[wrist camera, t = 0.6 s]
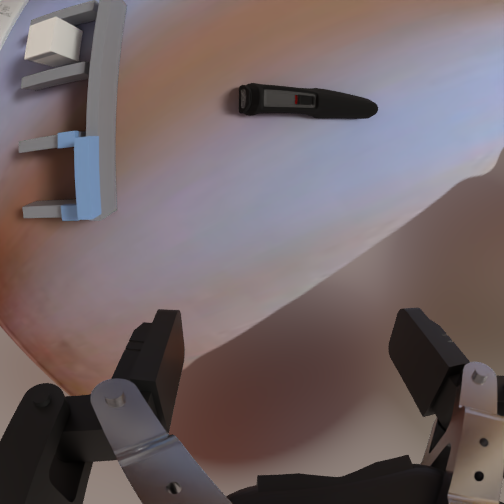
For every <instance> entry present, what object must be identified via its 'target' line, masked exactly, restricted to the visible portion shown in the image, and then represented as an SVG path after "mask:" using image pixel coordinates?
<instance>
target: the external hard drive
mask: <svg viewBox="0 0 504 504" xmlns="http://www.w3.org/2000/svg"><path fill="white" fill-rule="evenodd" d="M28 1H29V0H0V50H1V48H2V46H3V44H4V42H5V41H6V39H7V37H8V35H9V33H10V31H11V29H12V28H13V26H14V24H15V22H16V21H17V19H18V17H19V16H20V14H21V12H22V11H23V9H24V7H25V6H26V4H27V3H28Z"/></svg>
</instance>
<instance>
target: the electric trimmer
mask: <svg viewBox="0 0 504 504" xmlns="http://www.w3.org/2000/svg"><path fill="white" fill-rule="evenodd" d="M312 106H313V107H312ZM377 111H378V107H377V104H375V103H374V102H372V101H371V100H369V99H366V98H362V97H358V96H354V95H350V94H345V93H341V92H336V91H331V90H326V89H318V88H313V89H306V88H294V87H285V86H275V85H263V84H256V83H251V84H247V85H242V86H240V88H239V112H240V113H245V114H246V115H255V114H258V113H297V114H306V115H310V116H312V117H315V118H354V119H364V118H370V117H371V116H373V115H375V114H376V113H377Z"/></svg>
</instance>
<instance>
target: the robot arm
mask: <svg viewBox="0 0 504 504" xmlns="http://www.w3.org/2000/svg"><path fill="white" fill-rule="evenodd" d="M389 355H390V358H391V360H392V361H393V363H394V365H395V367H396V368H397V370H398V372H399V374H400V375H401V377H402V379H403V381H404V383H405V384H406V386H407V388H408V390H409V392H410V393H411V395H412V397H413V399H414V401H415V403H416V405H417V407H418V408H419V410H420V412H421V414H422V416H423V417H425V416H429V415H433V414H436V416H437V418H436V419H435V421H434V423H433V426H432V430H431V434H430V437H429V440H428V444H427V447H426V450H425V453H424V457H423V459H422V462H421V464H412V463H411V460H410V458H409V455H405V456H402V457H397V458H393V459H389V460H385V461H380V462H376V463H374V464H371V465H369V466H367V467H364V468H363V469H360V470H358V471H355V472H353V473H351V474H348V475H345V476H342V477H328V476H317V475H307V474H299V473H298V474H283V475H260V476H259V475H258V477H257V485H255V486H252V487H247V488H244V489H241V490H239V491H236V492H234V493H232V494H230V495H228V496H225V495H224V494H223V493H222V492H221V491H220V489H219V488H218V487H217V486H216V485H215V484H214V483H213V481H212V480H211V479H210V478H209V477H208V476H207V474H206V473H205V472H204V471H203V470H202V469H201V467H200V466H199V465H198V464H197V462H196V461H195V460H194V459H193V458H192V456H191V455H190V454H189V452H188V451H187V450H186V449H185V447H184V446H183V445H182V443H181V442H180V441H179V440H178V439H177V437H176V436H174V435H169V434H168V433H169V429H170V424H171V419H172V414H173V409H174V405H175V399H176V395H177V390H178V386H179V381H180V377H181V372H182V368H183V363H184V339H183V330H182V320H181V313H180V311H179V310H163V309H159V310H158V311H157V313H156V315H155V318H154V320H153V322H152V323H145V322H144V323H142V324H141V325H140V326H139V327H138V328H136V329H135V330H134V332H133V334H132V336H131V338H130V340H129V342H128V344H127V346H126V350H124V352H123V355H122V357H121V359H120V361H119V363H118V365H117V368H116V370H115V372H114V374H113V376H112V379H109V380H106V381H103V382H101V383H100V384H98V385H97V386H96V387H95V388H94V389H93V391H92V393H91V394H90V395H81V396H67V397H65V396H64V394H63V392H62V390H61V389H60V388H59V387H58V386H56V385H53V384H49V383H43V384H39V385H36V386H34V387H32V388H31V389H29V390H28V391H27V392H26V394H25V395H24V397H23V399H22V400H21V402H20V404H19V406H18V408H17V410H16V411H15V413H14V415H13V417H12V419H11V421H10V423H9V425H8V427H7V429H6V431H5V433H4V435H3V437H2V439H1V441H0V504H83V500H84V496H85V492H86V487H87V483H88V479H89V475H90V471H91V467H92V464H93V462H95V461H110V460H118V462H119V464H120V466H121V468H122V470H123V472H124V473H125V475H126V477H127V479H128V480H129V482H130V484H131V486H132V487H133V489H134V491H135V492H136V494H137V496H138V497H139V499H140V500H141V502H142V504H504V503H502V502H500V501H499V499H500V493H501V487H502V480H503V478H504V376H496V374H495V372H494V371H493V370H492V369H491V368H490V367H488V366H487V365H485V364H483V363H480V362H469V360H468V359H467V358H466V357H465V355H464V354H463V353H462V352H461V351H460V349H459V348H458V347H457V346H456V344H455V343H454V342H452V340H451V339H450V337H449V336H447V335H446V332H445V331H444V330H443V329H442V328H441V327H440V326H439V325H438V324H436V323H435V322H433V321H431V320H430V319H429V318H428V317H427V316H426V315H425V314H424V313H423V311H422V310H421V309H420V308H406V309H400V310H399V312H398V314H397V317H396V321H395V324H394V328H393V331H392V335H391V338H390V342H389Z"/></svg>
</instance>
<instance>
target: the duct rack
mask: <svg viewBox="0 0 504 504" xmlns="http://www.w3.org/2000/svg"><path fill="white" fill-rule="evenodd" d="M126 9H127V4H126V3H125V2H124V1H123V0H100V2H99V3H98V2H97V1H95V0H93V1H89V2H86V3H82V4H78V5H75V6H71V7H68V8H65V9H62V10H59V11H56V12H53V13H50V14H47V15H44V16H41V17H39V18H36V19H33V20H31V24H30V26H31V25H34V24H36V23H39V22H42V21H44V20H47V19H50V18H53V17H56V16H57V17H58V18H60V19H62V20H64V21H66V22H68V23H69V24H71V25H73V26H75V25H79V24H83V23H87V22H91V21H95V20H96V23H95V30H94V36H93V43H92V51H91V60H90V63H88V62H86V61H84V62H79V63H75V64H70V65H66V66H62V67H58V68H54V69H50V70H46V71H43V72H39V73H36V74H32V75H29V76H26V77H23V78H22V82H21V89H28V90H35V91H36V90H40V89H44V88H48V87H52V86H56V85H61V84H65V83H70V82H75V81H80V80H86V79H89V80H88V94H87V114H86V132H79V131H69V132H62V133H58V135H53V136H47V137H41V138H35V139H30V140H24V141H19V153H23V152H29V151H36V150H43V149H50V148H57V147H58V148H67V147H74V166H75V188H76V199H69V200H46V201H35V202H33V203H31V204H28V205H26V206H23V216H24V218H54V217H62V221H79V220H89V221H101V220H103V219H104V218H106V217H107V216H109V215H110V214H112V213H113V212H115V211H117V197H116V165H115V135H116V104H117V87H118V73H119V62H120V52H121V44H122V36H123V28H124V21H125V15H126Z"/></svg>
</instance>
